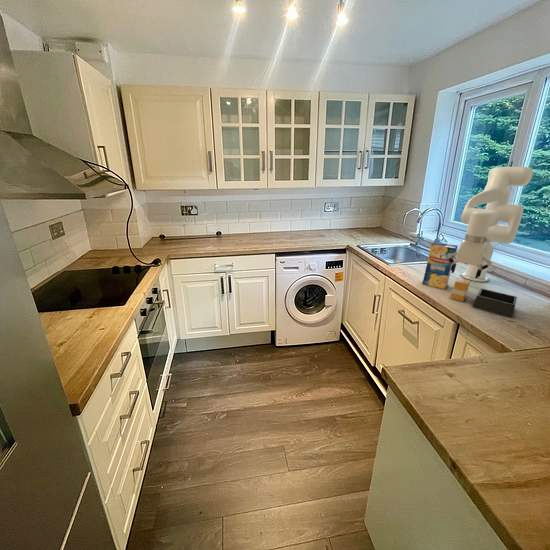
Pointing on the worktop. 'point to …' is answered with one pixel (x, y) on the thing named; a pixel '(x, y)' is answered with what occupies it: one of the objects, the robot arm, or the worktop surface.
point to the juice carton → (460, 289)
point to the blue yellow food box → (439, 265)
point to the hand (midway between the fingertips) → (464, 275)
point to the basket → (495, 302)
